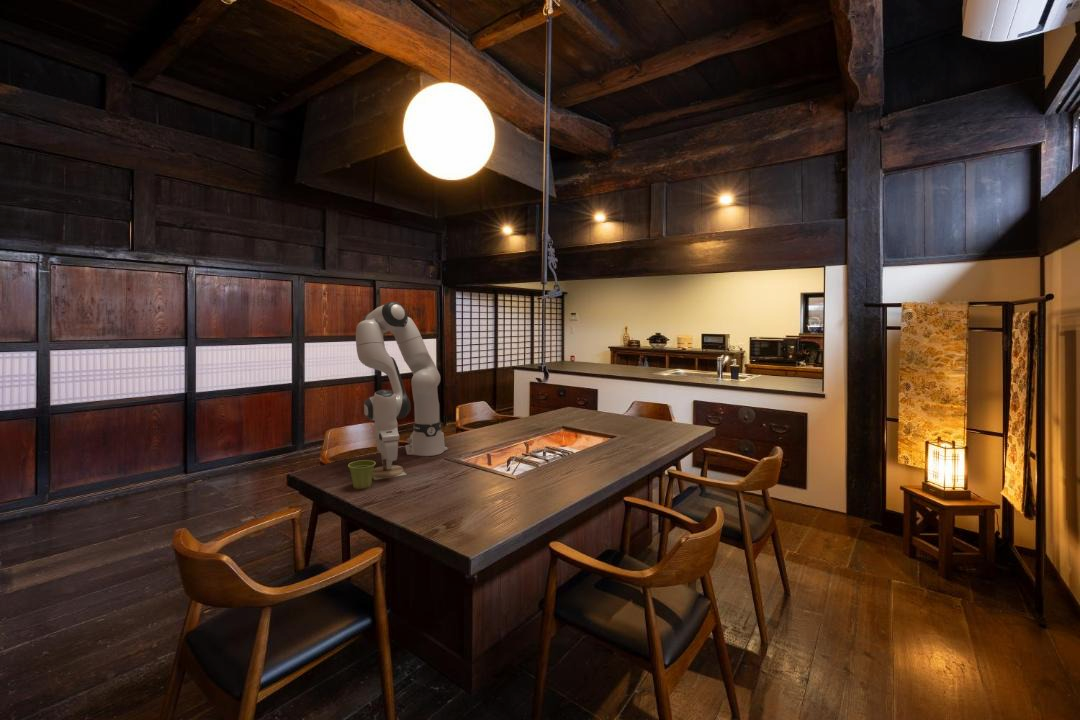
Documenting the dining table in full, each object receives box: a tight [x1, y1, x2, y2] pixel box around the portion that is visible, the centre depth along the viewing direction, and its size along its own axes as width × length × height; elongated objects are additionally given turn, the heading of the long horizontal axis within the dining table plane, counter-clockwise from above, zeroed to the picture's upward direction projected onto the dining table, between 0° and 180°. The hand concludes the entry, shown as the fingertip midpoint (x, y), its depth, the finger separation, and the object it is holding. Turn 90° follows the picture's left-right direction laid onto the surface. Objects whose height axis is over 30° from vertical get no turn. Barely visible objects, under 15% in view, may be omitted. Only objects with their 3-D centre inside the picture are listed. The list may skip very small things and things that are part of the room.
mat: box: [372, 470, 407, 481], centre depth 183 cm, size 12×12×1 cm
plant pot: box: [347, 459, 377, 490], centre depth 169 cm, size 9×9×9 cm
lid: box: [372, 459, 404, 479], centre depth 183 cm, size 12×12×5 cm
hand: (386, 466), depth 183 cm, fingers open, 5 cm apart
